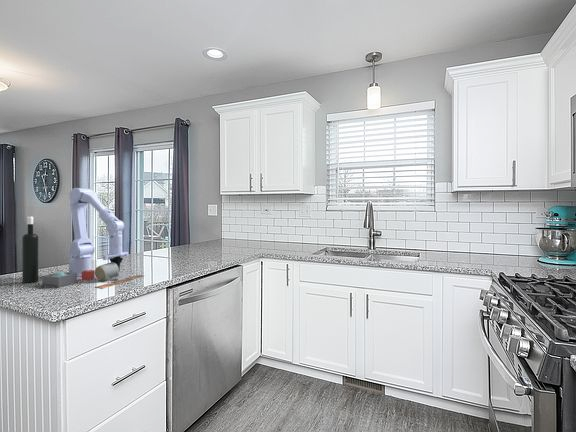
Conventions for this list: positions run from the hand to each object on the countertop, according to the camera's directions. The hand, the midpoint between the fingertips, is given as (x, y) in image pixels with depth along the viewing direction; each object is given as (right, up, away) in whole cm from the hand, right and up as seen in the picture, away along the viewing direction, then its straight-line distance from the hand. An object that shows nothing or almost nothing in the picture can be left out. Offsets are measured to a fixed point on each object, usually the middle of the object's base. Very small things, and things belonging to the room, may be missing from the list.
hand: (116, 272), depth 161 cm
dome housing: (-17, -3, -16) cm, 23 cm away
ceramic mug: (-1, -3, -5) cm, 5 cm away
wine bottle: (-33, -3, -12) cm, 35 cm away
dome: (-17, -1, -16) cm, 23 cm away
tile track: (+6, -3, -7) cm, 10 cm away
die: (-11, -3, -5) cm, 12 cm away
